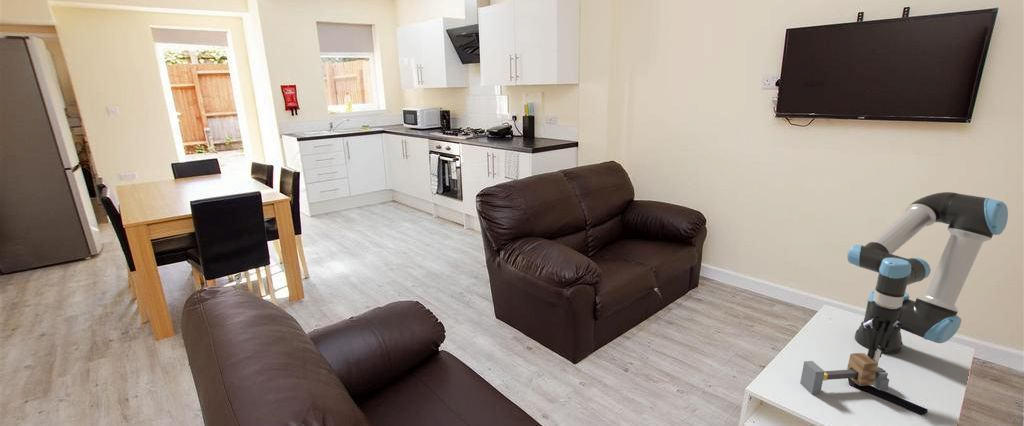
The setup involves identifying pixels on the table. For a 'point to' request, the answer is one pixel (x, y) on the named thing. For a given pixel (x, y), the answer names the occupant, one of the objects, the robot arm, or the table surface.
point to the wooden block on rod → (863, 368)
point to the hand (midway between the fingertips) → (871, 365)
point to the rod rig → (835, 377)
